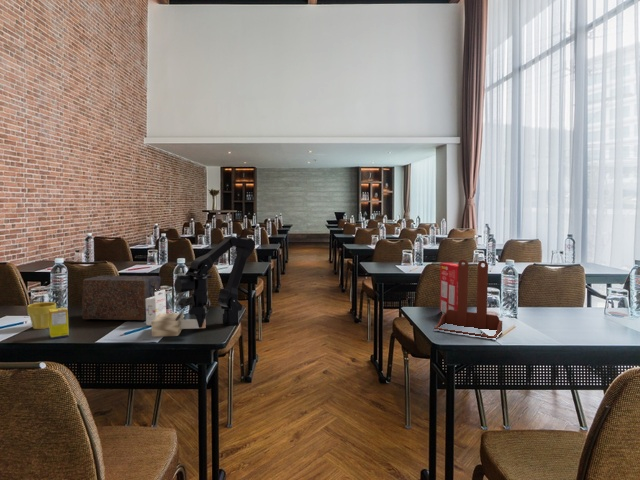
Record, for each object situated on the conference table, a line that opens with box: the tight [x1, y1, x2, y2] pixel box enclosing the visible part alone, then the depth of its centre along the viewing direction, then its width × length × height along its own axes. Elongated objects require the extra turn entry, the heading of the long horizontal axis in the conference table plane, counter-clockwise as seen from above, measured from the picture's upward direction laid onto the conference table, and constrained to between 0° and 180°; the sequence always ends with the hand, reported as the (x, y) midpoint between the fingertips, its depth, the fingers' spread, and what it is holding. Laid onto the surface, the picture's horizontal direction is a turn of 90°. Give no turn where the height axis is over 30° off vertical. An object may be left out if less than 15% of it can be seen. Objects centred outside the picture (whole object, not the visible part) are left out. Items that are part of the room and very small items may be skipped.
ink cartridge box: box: [145, 288, 167, 326], centre depth 191 cm, size 9×5×15 cm, turn 168°
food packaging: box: [439, 262, 458, 313], centre depth 209 cm, size 15×5×25 cm, turn 13°
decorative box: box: [81, 274, 162, 321], centre depth 201 cm, size 31×20×20 cm
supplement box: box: [48, 306, 70, 340], centre depth 169 cm, size 6×6×11 cm
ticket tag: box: [181, 318, 207, 330], centre depth 179 cm, size 16×1×4 cm, turn 99°
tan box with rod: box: [151, 310, 185, 338], centre depth 178 cm, size 10×14×7 cm
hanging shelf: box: [433, 258, 503, 338], centre depth 179 cm, size 24×13×30 cm, turn 56°
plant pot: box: [26, 301, 57, 330], centre depth 183 cm, size 10×10×10 cm
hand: (200, 326), depth 180 cm, fingers closed on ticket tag
